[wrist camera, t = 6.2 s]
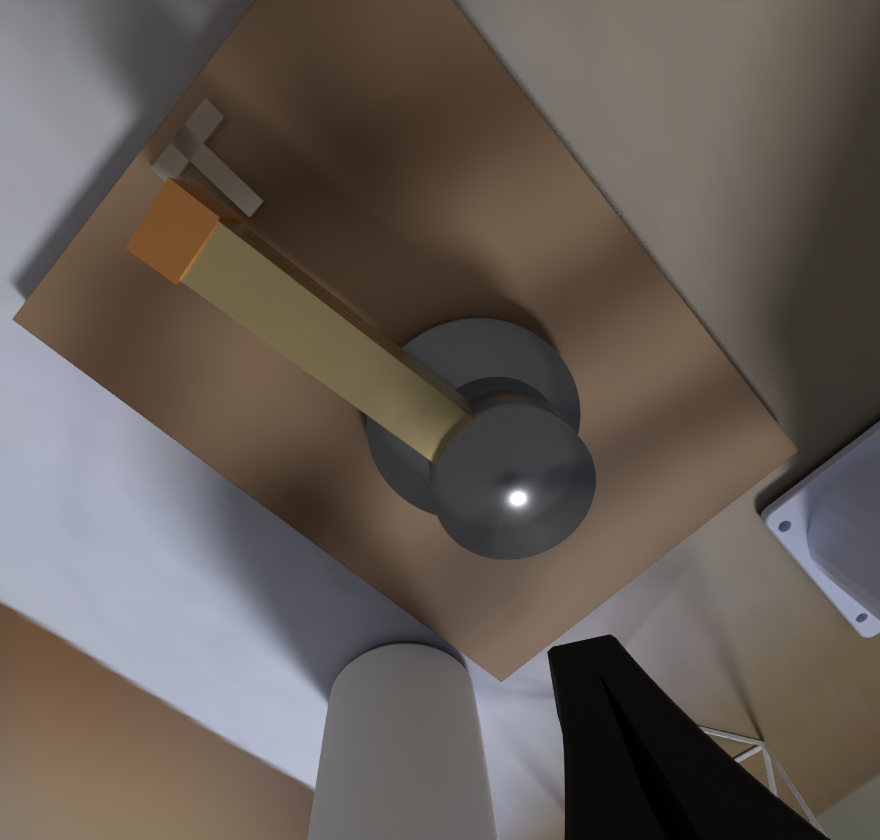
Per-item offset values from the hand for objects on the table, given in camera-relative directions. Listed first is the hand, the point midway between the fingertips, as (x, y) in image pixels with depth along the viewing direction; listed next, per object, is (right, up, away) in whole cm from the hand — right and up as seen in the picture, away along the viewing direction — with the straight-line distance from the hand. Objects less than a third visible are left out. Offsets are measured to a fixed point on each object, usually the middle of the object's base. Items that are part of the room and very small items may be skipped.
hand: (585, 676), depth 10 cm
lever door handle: (-4, +7, +6) cm, 10 cm away
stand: (-3, +7, +7) cm, 10 cm away
